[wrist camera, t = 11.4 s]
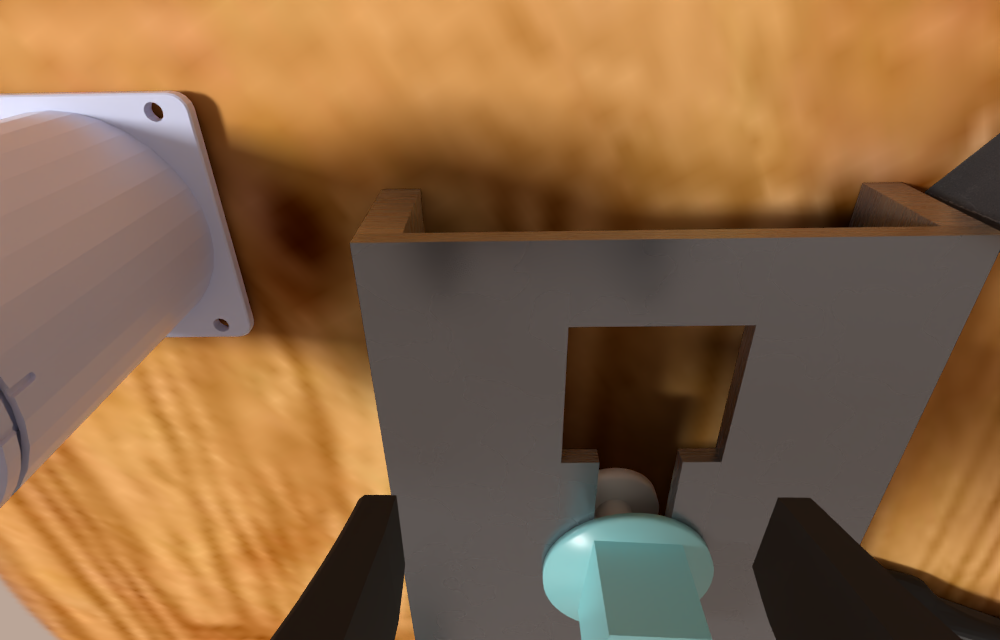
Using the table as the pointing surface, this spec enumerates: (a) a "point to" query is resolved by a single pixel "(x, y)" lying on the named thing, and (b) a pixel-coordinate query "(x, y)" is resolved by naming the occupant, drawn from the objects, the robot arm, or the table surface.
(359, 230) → the keyhole plate
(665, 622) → the peg
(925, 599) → the electric trimmer
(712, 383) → the table surface
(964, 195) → the ammunition clip
